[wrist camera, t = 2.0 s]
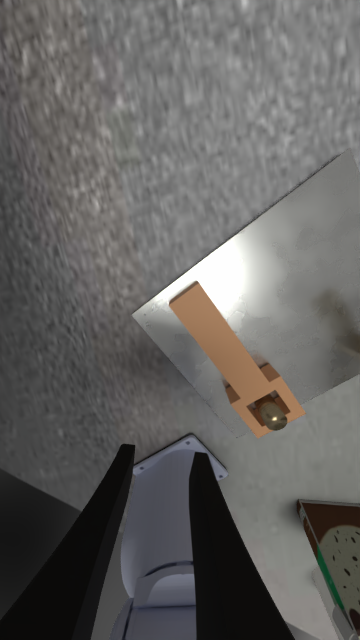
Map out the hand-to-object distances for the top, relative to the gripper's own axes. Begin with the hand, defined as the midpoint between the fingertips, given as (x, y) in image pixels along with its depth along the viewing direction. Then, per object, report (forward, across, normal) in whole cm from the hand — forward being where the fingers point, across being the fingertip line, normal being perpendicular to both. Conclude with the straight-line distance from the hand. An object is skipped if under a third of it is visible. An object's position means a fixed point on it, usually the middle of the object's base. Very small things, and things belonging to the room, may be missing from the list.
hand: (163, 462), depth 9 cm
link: (+8, -5, -2) cm, 10 cm away
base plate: (+9, -9, -6) cm, 14 cm away
